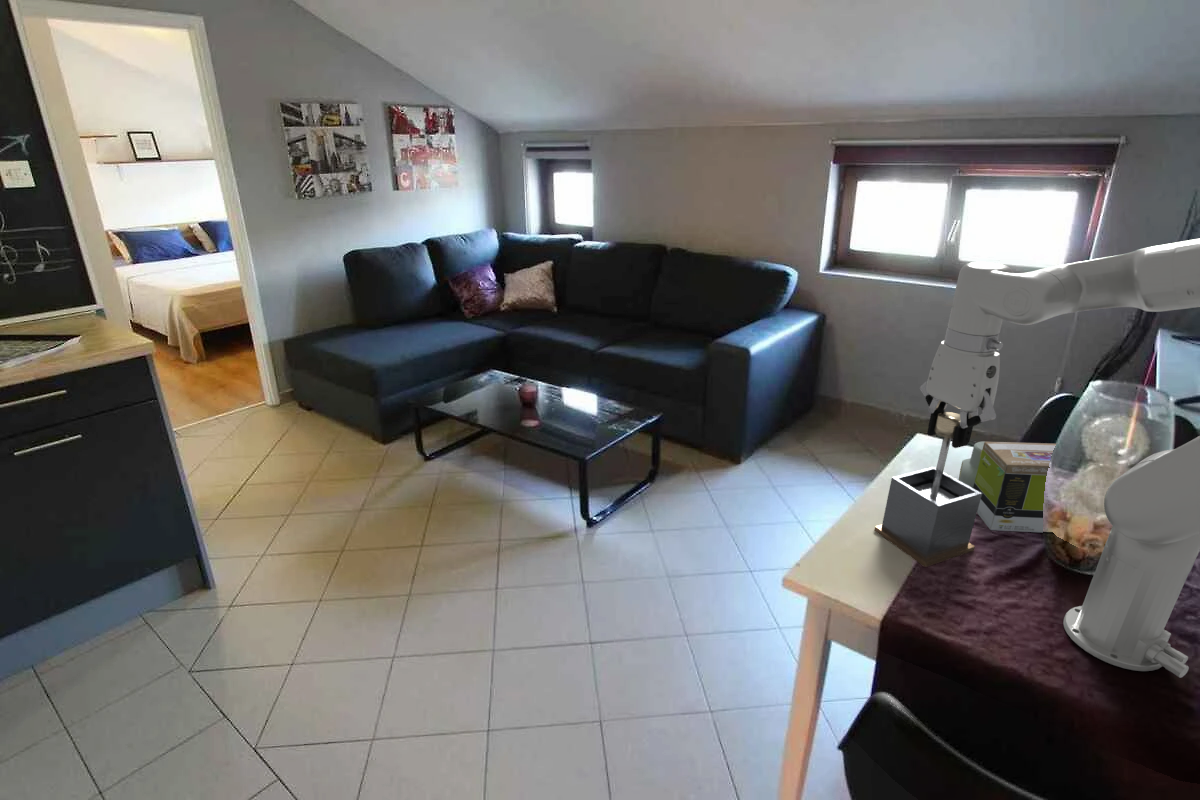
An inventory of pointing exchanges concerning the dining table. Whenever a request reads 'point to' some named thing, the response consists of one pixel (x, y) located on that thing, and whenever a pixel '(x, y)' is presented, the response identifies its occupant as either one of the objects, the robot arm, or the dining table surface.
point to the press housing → (929, 517)
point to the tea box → (1013, 485)
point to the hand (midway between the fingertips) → (947, 438)
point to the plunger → (941, 456)
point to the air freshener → (971, 465)
